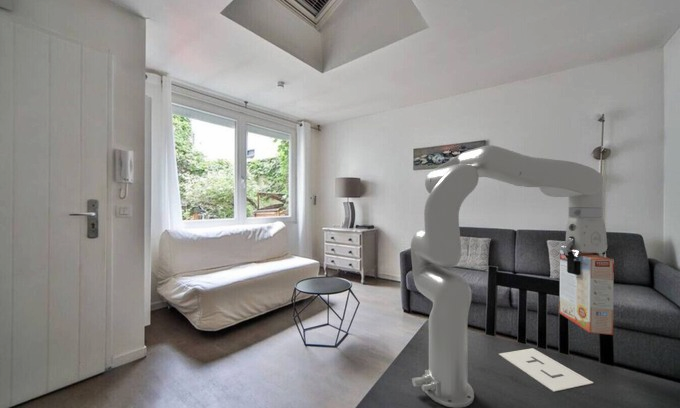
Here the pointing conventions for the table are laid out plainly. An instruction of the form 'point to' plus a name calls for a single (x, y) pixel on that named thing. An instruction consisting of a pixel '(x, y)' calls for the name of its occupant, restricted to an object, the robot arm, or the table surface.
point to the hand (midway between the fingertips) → (584, 272)
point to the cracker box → (588, 293)
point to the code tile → (545, 369)
